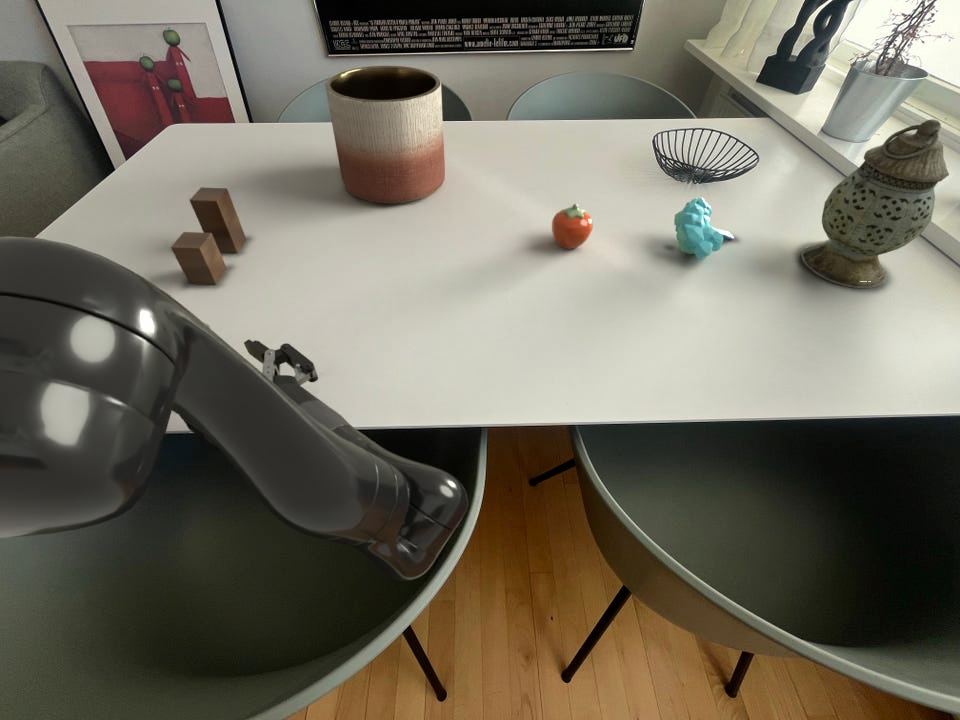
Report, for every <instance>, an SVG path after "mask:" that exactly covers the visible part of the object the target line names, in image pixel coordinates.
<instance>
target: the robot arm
mask: <svg viewBox="0 0 960 720" xmlns="http://www.w3.org/2000/svg"><path fill="white" fill-rule="evenodd" d="M203 322H204V321H202V320H201V319H200V318H199V317H198V316H196V315H195V314H194V313H193V312H191V311H190V310H189V309H188V308H187V307H185V306H184V305H183V304H181V303H180V301H178V300H176V299H175V298H174V297H172V296H171V295H170V294H168V293H167V292H166V291H164V290H163V289H162V288H160V287H159V286H157V285H155V284H154V283H152V282H151V281H150V280H148V279H146V278H145V277H143V276H142V275H139V273H136V272H135V271H133V270H132V269H130V268H128V267H125V266H124V265H121V264H119V263H118V262H115V261H114V260H112V259H110V258H108V257H105V256H103V255H101V254H99V253H95V252H93V251H89V250H87V249H84V248H81V247H78V246H75V245H72V244H69V243H64V242H59V241H54V240H49V239H46V238H39V237H28V236H12V235H11V236H9V235H8V236H0V539H5V538H18V537H32V536H40V535H50V534H58V533H64V532H68V531H69V532H70V531H75V530H76V531H77V530H80V529H85V528H89V527H93V526H97V525H100V524H102V523H103V524H104V523H105V522H108V521H111V520H114V519H116V518H118V517H120V516H122V515H123V514H125V513H127V512H128V511H130V510H132V509H133V507H135V505H137V504H138V503H140V500H141V499H142V498H143V496H144V494H145V493H146V491H147V489H148V487H149V485H150V483H151V480H152V478H153V477H154V473H155V470H156V467H157V464H158V461H159V457H160V455H161V452H162V449H163V445H164V441H165V437H166V433H167V429H168V426H169V422H170V419H171V415H172V414H171V413H172V412H173V413H175V414H177V415H179V417H180V418H181V420H182V421H183V422H184V423H185V425H186V427H187V429H188V430H189V431H190V432H192V433H193V434H194V435H196V436H197V437H198V438H200V439H201V440H202V441H204V442H205V443H206V444H207V445H209V446H210V447H211V448H213V449H214V450H215V451H218V452H221V454H222V455H223V456H224V457H225V458H226V460H228V462H229V463H230V464H231V465H232V466H233V468H234V469H235V470H236V471H237V473H238V474H239V475H240V477H241V478H242V479H243V480H244V482H245V483H246V485H247V486H248V487H249V488H250V490H251V491H252V492H253V494H254V495H255V496H256V498H257V499H258V500H259V501H260V503H262V504H263V506H264V507H265V508H266V509H267V510H268V511H269V512H270V513H271V514H272V515H274V516H275V517H276V518H277V519H278V520H279V521H280V522H282V523H283V524H285V525H286V526H287V527H289V528H291V529H292V530H295V531H296V532H298V533H301V534H304V535H306V536H309V537H313V538H316V539H320V540H325V541H330V542H332V543H337V544H341V545H344V546H348V547H351V548H353V549H356V550H357V551H359V552H361V553H362V554H363V555H365V556H366V557H367V558H368V559H369V560H370V561H371V562H372V564H374V565H375V566H376V567H377V568H378V569H379V570H380V571H382V572H383V573H384V574H386V575H387V576H389V577H390V578H391V579H394V580H397V581H399V582H411V581H414V580H417V579H419V578H421V577H422V576H424V575H425V574H426V573H427V572H428V571H429V570H430V569H431V568H432V566H433V565H434V563H435V561H436V560H437V559H438V557H439V555H440V554H441V552H442V550H443V549H444V547H445V546H446V544H447V542H448V541H449V539H450V538H451V536H452V534H454V531H455V530H456V529H457V527H458V526H459V524H460V522H462V519H463V518H464V516H465V514H466V512H467V510H468V506H469V499H468V498H469V497H468V494H467V491H466V490H465V487H464V485H463V484H462V482H460V480H459V479H458V478H456V476H454V475H453V474H451V473H450V472H449V471H446V470H444V469H442V468H439V467H437V466H433V465H430V464H427V463H423V462H420V461H416V460H413V459H410V458H407V457H404V456H402V455H399V454H397V453H394V452H392V451H390V450H388V449H386V448H384V447H383V446H381V445H379V444H378V443H376V442H375V441H374V440H372V439H370V438H369V437H368V436H366V435H365V434H363V433H362V432H360V431H359V430H358V429H356V427H354V426H353V425H352V424H351V423H349V422H348V421H347V420H346V419H345V418H344V416H342V415H341V414H340V413H339V412H337V411H336V410H334V409H333V408H332V407H330V406H329V405H328V404H326V403H325V402H323V401H322V400H321V399H319V398H318V397H316V396H315V395H313V393H311V392H309V391H308V390H307V389H306V388H304V387H303V386H302V385H304V383H305V384H306V383H307V382H309V383H315V382H317V381H318V380H319V376H318V373H317V370H316V367H315V364H314V362H312V360H310V359H309V358H308V357H307V356H305V355H304V354H303V353H301V351H299V350H297V349H296V348H295V347H294V346H292V344H290V343H287V342H286V343H283V344H281V345H280V346H279V348H277V349H273V348H269V347H268V346H266V345H265V344H263V342H261V341H260V340H255V339H254V340H251V339H246V341H244V342H243V345H244V346H245V349H246V351H247V353H248V354H249V355H250V356H251V357H253V358H254V359H256V360H257V361H258V362H260V363H261V364H262V371H261V370H260V369H258V368H257V367H256V366H255V365H254V364H252V363H251V362H250V361H249V360H248V359H247V358H245V357H244V356H243V355H241V353H239V352H238V351H237V350H236V349H235V348H233V347H232V346H231V345H230V344H229V343H228V342H227V341H225V340H224V339H223V338H222V337H221V336H220V335H218V334H217V333H216V332H215V331H214V330H213V329H212V328H211V327H210V328H211V329H210V328H209V327H208V326H207V325H205V324H204V323H205V322H204V323H203ZM285 363H286V364H287V365H288V366H290V367H291V368H292V369H293V372H294V374H295V375H294V376H293V375H289V374H281V365H282V364H285Z"/></svg>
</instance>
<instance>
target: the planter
mask: <svg viewBox="0 0 960 720" xmlns="http://www.w3.org/2000/svg"><path fill="white" fill-rule="evenodd" d="M324 86H325V94H326V99H327V103H328V108H329V114H330V120H331V126H332V130H333V137H334V142H335V148H336V154H337V159H338V160H337V161H338V166H339V172H340V177H341V180H342V184H343V187H344V188H345V190H347V192H349V193H350V194H352V195H353V196H355V197H357V198H359V199H361V200H364V201H366V202H367V201H368V202H371V203H376V204H384V205H396V204H397V205H399V204H407V203H411V202H416V201H419V200H423V199H424V198H426V197H427V198H428V196H431V195H432V194H434V193H435V192H436V191H438V190H439V189H440V188H441V187H442V186H443V184H444V181H445V177H446V161H445V140H444V139H445V138H444V122H443V121H444V120H443V101H442V100H443V97H442V95H443V94H442V81H441V79H440V78H439V77H438V76H437V75H435V74H434V73H431V72H429V71H427V70H424V69H422V68H421V69H420V68H416V67H411V66H404V65H403V66H402V65H371V66H370V65H369V66H362V67H356V68H351V69H348V70H344V71H341V72H339V73H336V74H334V75H332V76H331V77H329V78H328V79H327V80H326V82H325V85H324Z"/></svg>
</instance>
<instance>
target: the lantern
mask: <svg viewBox="0 0 960 720" xmlns="http://www.w3.org/2000/svg"><path fill="white" fill-rule="evenodd" d="M941 126H942V125H941V122H940V121H939V120H937V119H933V118H932V119H927V120H925V121H922V122H921V123H920V124H915V125H914V124H913V125H911V126H908V127H905V128H903V129H900V130H897V131H896V132H894V133H893V134H890V136H889V137H887V138H886V139H885V141H884V142H883V143H882V144H880V145H877V146H873V147H871V148H869V149H868V150H866V151H865V152H864V154H863V160H864V161H863V162H862V163H861V164H860V166H859V167H857V168H856V169H855V170H854V171H852V172H851V173H850V174H849V175H847V176H846V177H845V178H844V179H843V180H842V181H840V182H839V183H838V184H837V185H835V187H834V188H833V189H832V191H831V192H830V193H829V195H828V196H827V198H826V200H825V201H824V204H823V208H822V215H821V226H822V229H823V231H824V233H825V234H826V236H827V238H828V239H826V240H823V241H819V242H815V243H811V244H809V245H807V246H806V247H804V248H803V250H802V251H801V255H800V257H801V261H802V263H803V264H804V265H805V266H806V267H807V268H808V269H809V270H810V271H811V272H812V273H814V274H815V275H817V276H818V277H820V278H822V279H823V280H826V281H828V282H830V283H833V284H836V285H840V286H843V287H848V288H853V289H871V288H876V287H878V286H880V285H881V284H882V283H883V282H884V281H885V279H886V275H887V272H886V271H885V269H884V266H883V265H882V264H881V262H880V259H879V256H880V255H883V254H887V253H890V252H893V251H897V250H900V249H902V248H903V247H905V246H906V245H908V244H910V242H912V241H914V240H915V239H917V238H918V237H920V236H921V235H922V233H923V232H924V231H925V229H926V228H927V227H928V226H929V224H930V223H931V222H932V218H933V213H934V209H935V203H936V193H935V188H936V186H937V184H938V183H939V182H942V181H943V180H944V179H946V178H948V176H949V175H950V173H949V171H948V169H947V167H948V166H947V164H946V161H945V159H944V143H942V142H941V141H939V140H938V139H939V133H940V131H941V129H942V127H941ZM911 131H915V132H911ZM881 265H882V266H881ZM883 270H884V273H883ZM882 275H883V276H882ZM881 276H882V277H881ZM880 277H881V278H880ZM879 278H880V279H879ZM860 281H867V282H860ZM868 281H871V282H868Z"/></svg>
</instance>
